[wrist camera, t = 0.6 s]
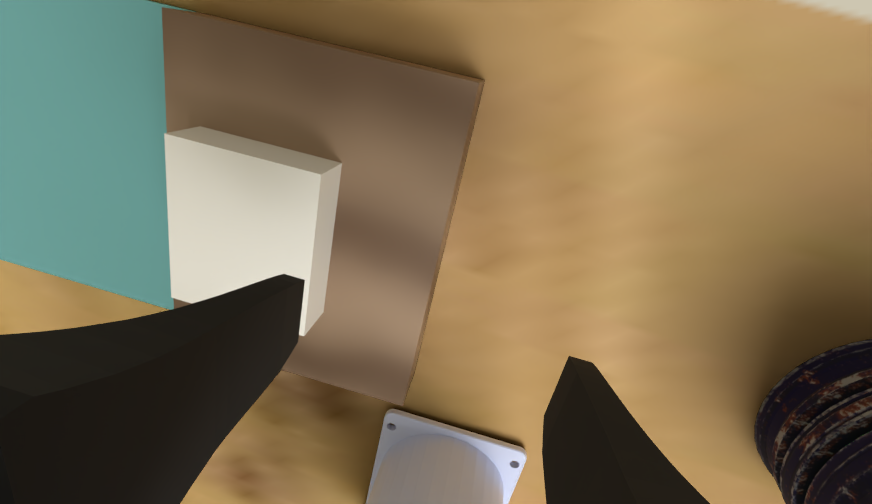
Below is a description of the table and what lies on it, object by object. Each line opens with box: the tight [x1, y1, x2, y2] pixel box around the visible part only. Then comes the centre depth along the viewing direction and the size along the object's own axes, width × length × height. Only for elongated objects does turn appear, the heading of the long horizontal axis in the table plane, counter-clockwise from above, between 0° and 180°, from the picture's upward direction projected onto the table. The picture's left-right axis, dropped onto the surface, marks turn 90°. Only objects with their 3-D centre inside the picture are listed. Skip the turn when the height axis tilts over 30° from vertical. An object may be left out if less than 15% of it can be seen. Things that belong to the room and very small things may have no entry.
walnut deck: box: [162, 7, 485, 406], centre depth 20 cm, size 15×12×2 cm
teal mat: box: [0, 0, 196, 310], centre depth 22 cm, size 15×14×1 cm
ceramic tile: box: [164, 126, 342, 336], centre depth 18 cm, size 7×6×2 cm
